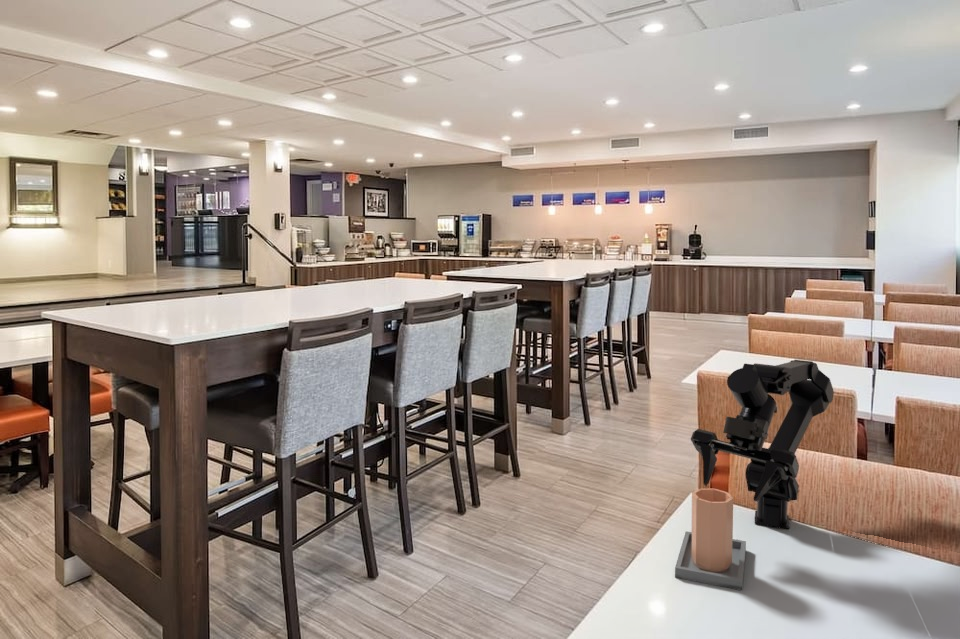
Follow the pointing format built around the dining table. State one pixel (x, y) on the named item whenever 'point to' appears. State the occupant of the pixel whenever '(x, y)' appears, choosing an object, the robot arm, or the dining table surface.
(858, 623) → the dining table surface
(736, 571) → the tray
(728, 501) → the cup
